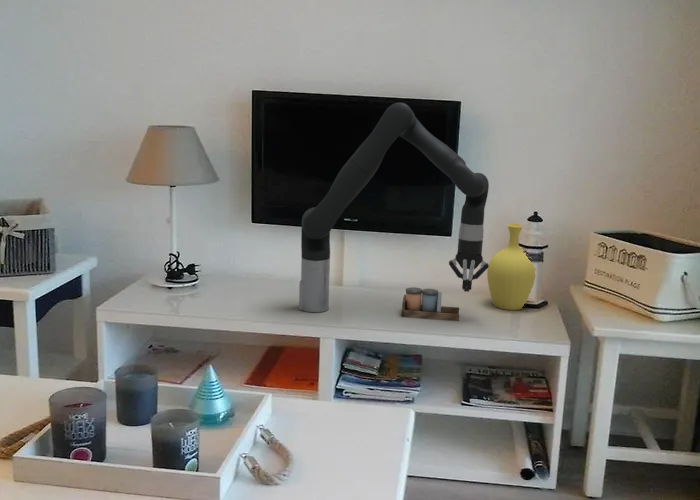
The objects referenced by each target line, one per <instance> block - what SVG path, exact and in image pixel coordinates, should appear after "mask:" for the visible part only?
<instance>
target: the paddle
mask: <svg viewBox="0 0 700 500" xmlns="http://www.w3.org/2000/svg"><path fill="white" fill-rule="evenodd" d="M442 295H443V292H441V291H438V300H437V313H441V306H442V298H443V297H442Z"/></svg>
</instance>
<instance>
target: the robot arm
mask: <svg viewBox="0 0 700 500" xmlns="http://www.w3.org/2000/svg"><path fill="white" fill-rule="evenodd" d="M371 131H372V132H370V133H369V135H368V136H367V137H366V139H364V141H363V142H362V143H361V144H360V145H359V147H358V148H357V149H356V151H354V153H353V154H352V155H351V156H350V158H349V159H348V160H347V161H346V163H345V164H344V165H343V166H342V167H341V169H340V171H339V172H338V174H337V175H336V178H335V179H334V181H333V182H332V185H331V186H330V189H329V190H328V191H327V194H325V196H324V197H323V199H322V200H321V201H320V202H319V203H318V204H317V205H316V207H310V208H308V209H307V210H306V211H305V212H303V215H302V218H301V233H300V234H301V235H300V237H301V239H300V240H301V243H300V244H301V245H300V246H301V255H300V256H301V261H300V262H301V265H300V267H301V272H300V273H301V274H300V281H299V286H298V287H299V290H298V292H299V296H298V298H299V299H298V301H299V302H298V310H299V311H304V312H307V313H323V312H327V311H328V310H329V306H330V302H329V301H330V267H331V246H330V245H331V243H330V240H331V239H330V238H331V231H332V229H333V228H334V226H335V224H336V222H337V221H338V220H339V218H340V216H341V215H342V214H343V212H344V210H345V209H346V208H347V207H348V206H349V204H351V203H352V202H353V200H354V199H355V198H356V197H357V196H359V195H358V194H360V193H361V191H362V190H363V189H364V188H365V187H366V185H367V184H368V183H369V182H370V180H371V179H372V178H373V177H374V175H375V173H376V172H377V171H378V169H379V167H380V165H381V163H382V161H383V159H384V157H385V155H386V153H387V152H388V150H389V148H390V147H391V146H392V145H393V143H394V142H395V141H396V140H397V138H398V137H401V138H402V139H404V140H405V141H407V142H409V144H411V145H413V146H414V147H415V148H416V149H417V150H419V151H420V152H421V153H422V154H423V155H424V156H425V157H426V158H427V159H428V160H429V161H430V162H431V163H432V164H433V165H434V166H435V167H436V168H438V170H439V171H441V172H442V173H444V175H446V176H447V177H448V178H449V179H450V180H451V182H452V183H453V184H454V185H455V186H456V187H457V189H458V190H459V191H460V192H461V193H463V194H464V195H465V202H464V203H463V205H462V208H461V212H460V213H461V215H460V224H459V230H458V240H457V241H458V243H457V252H456V255H455V256H454V258H452V259H449V261H448V265H449V266H450V268H451V270H452V271H453V273H455V275H456V277H457V278H458V279H461V280H462V285H461V286H462V287H461V288H462V290H463V292H465V293H466V292H467V293H468V292H470V291H472V286H473V285H472V284H473V281H474V280H477V279H479V278H480V277H481V276H482V275H483V273H484V272H486V271H487V270H488V267H489V263H488V262H486V261H485V260H484V258H483V255H482V254H483V253H482V252H483V245H484V244H483V242H484V231H485V230H484V220H485V208H486V203H487V199H488V195H489V187H490V185H489V179H488V178H487V176H486V175H485V174H483V173H480V172H473V170H471V169H470V168H469V167H468V166H467V164H466V163H467V162H466V161H465V160H464V159H463V158H462V157H461V156H460V155H459V154H458V153H456V152H455V151H454V150H453V149H452V148H451V147H449V146H448V145H447V144H446V143H444V142H442V141H441V139H438V138H437V137H435V136H434V135H433V134H432V133H431V132H429V130H427V128H425V126H424V125H423V124H422V123H421V121H419V119H418V118H417V117H416V115H415V113H414V111H413V110H412V109H411V107H410V106H409V105H408V104H406V103H405V102H395V103H392V104H391V105H390V106H389V107H387V108H386V110H384V112H383V114H382V116H381V117H380V119H379V120H378V122H377V124H376V125H375V127H374V129H373V130H371ZM457 265H459V267H460V268H461V269H462V272H461V271H460V269H459V268H458V266H457ZM479 266H480V268H479V269H478V270H477V271H476V272H475V273H474V271H475V270H476V269H477V268H478V267H479ZM467 275H468V276H467Z"/></svg>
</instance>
